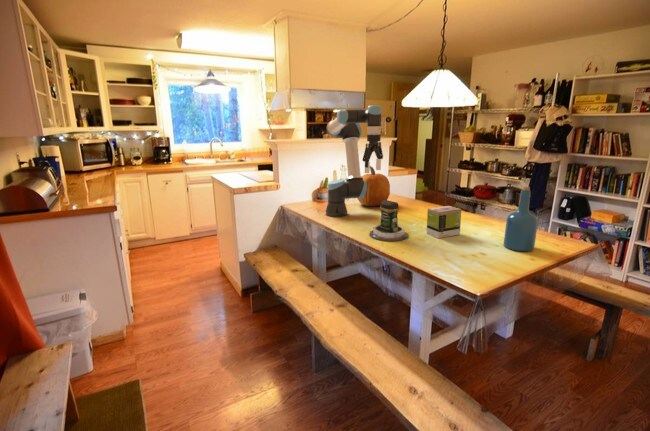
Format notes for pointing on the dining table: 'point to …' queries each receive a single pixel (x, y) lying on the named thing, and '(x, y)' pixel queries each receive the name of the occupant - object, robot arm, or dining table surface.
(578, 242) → the dining table surface
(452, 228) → the tea box
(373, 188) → the pumpkin
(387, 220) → the coffee jar
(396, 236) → the ring collar
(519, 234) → the wine bottle
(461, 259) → the dining table surface
